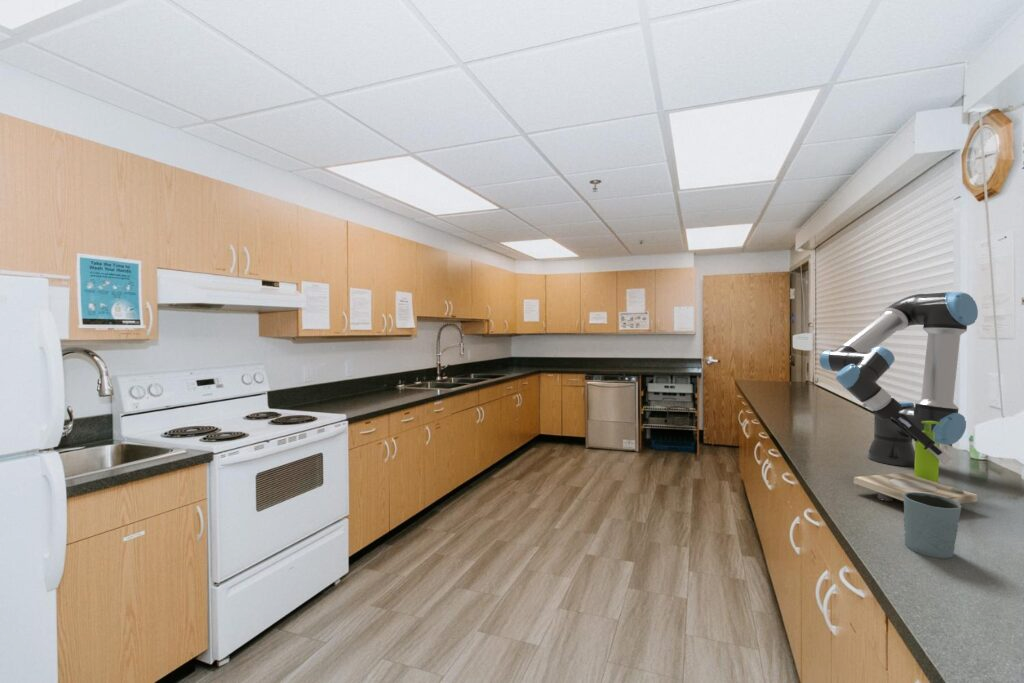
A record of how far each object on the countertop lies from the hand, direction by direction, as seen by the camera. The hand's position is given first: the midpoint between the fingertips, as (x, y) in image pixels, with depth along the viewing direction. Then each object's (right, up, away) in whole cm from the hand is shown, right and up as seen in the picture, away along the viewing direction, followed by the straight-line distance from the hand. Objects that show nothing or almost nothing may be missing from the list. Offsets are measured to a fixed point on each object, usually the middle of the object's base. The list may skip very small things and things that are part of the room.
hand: (943, 458), depth 151 cm
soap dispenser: (-3, -9, +2) cm, 9 cm away
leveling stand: (-18, -11, -10) cm, 23 cm away
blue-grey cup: (-39, -12, -40) cm, 57 cm away
